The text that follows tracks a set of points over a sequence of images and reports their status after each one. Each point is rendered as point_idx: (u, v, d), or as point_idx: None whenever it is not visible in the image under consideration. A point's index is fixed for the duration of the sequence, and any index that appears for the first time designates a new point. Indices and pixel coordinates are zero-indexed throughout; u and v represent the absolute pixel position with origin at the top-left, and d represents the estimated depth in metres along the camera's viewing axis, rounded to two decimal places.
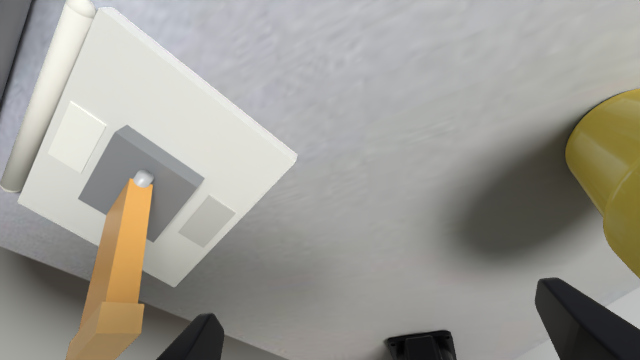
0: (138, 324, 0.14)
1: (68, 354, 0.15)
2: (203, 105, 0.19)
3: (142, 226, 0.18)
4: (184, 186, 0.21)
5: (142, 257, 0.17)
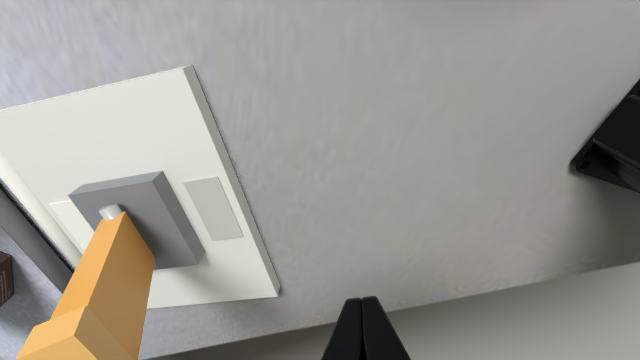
0: (73, 327, 0.11)
1: None
2: (82, 108, 0.18)
3: (106, 245, 0.16)
4: (145, 190, 0.19)
5: (100, 268, 0.14)
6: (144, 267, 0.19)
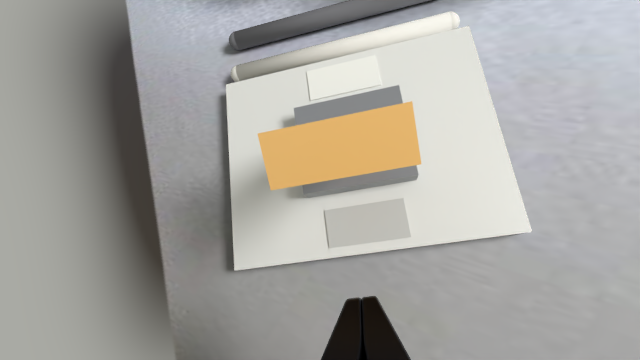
0: None
1: None
2: (483, 123, 0.19)
3: None
4: None
5: None
6: None
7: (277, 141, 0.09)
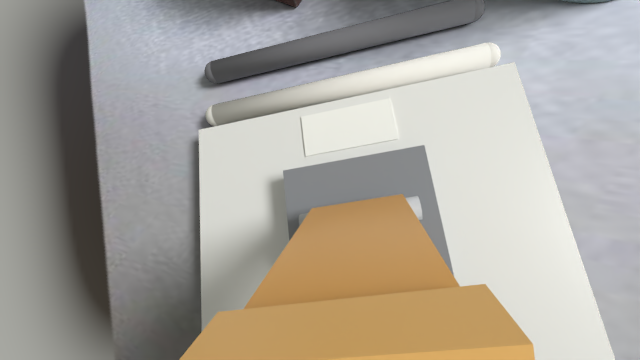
0: None
1: (221, 335, 0.05)
2: (540, 200, 0.14)
3: None
4: None
5: None
6: None
7: None
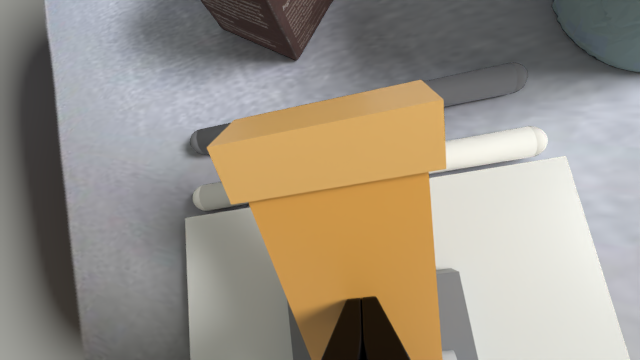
0: (441, 119, 0.06)
1: None
2: (598, 339, 0.12)
3: None
4: None
5: None
6: None
7: (251, 119, 0.07)
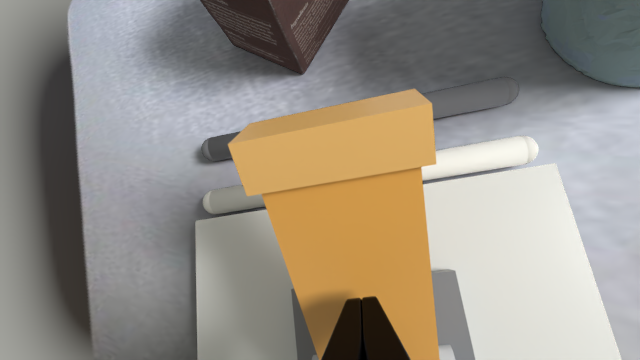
0: None
1: None
2: (589, 338, 0.12)
3: None
4: None
5: (429, 253, 0.08)
6: None
7: (265, 123, 0.08)
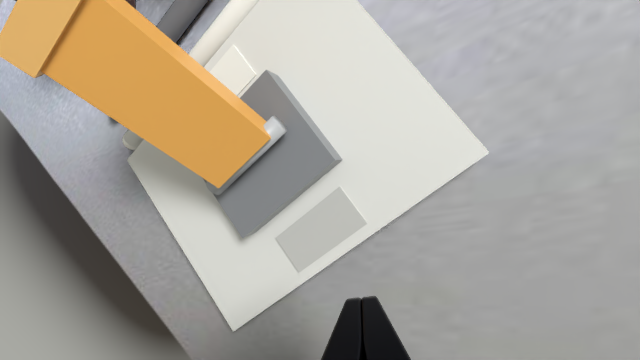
0: None
1: None
2: (379, 55, 0.15)
3: (209, 83, 0.13)
4: (318, 155, 0.15)
5: (163, 48, 0.12)
6: (194, 151, 0.15)
7: None
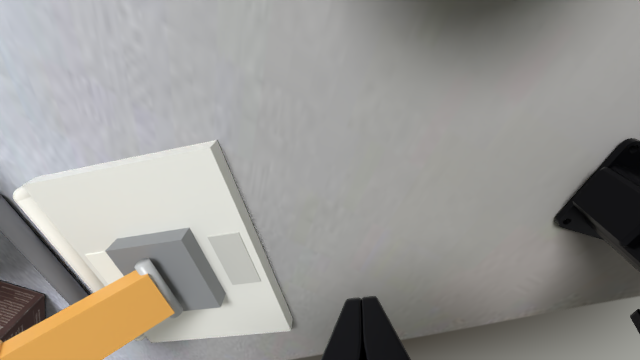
0: None
1: None
2: (119, 178, 0.20)
3: (90, 304, 0.19)
4: (175, 247, 0.21)
5: (52, 328, 0.18)
6: (137, 323, 0.21)
7: None
